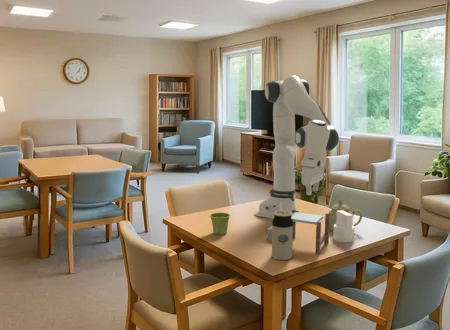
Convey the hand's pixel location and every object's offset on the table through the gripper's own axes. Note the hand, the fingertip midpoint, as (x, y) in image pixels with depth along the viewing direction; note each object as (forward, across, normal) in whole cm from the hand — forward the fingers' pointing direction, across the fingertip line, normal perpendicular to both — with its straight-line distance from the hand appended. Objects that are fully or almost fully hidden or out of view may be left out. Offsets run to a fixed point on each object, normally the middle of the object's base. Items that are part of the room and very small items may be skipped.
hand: (312, 192), depth 187 cm
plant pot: (+26, +2, -41) cm, 48 cm away
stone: (+24, -2, -16) cm, 29 cm away
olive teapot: (+23, -31, +8) cm, 40 cm away
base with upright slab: (+23, -16, +12) cm, 30 cm away
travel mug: (+24, +18, -5) cm, 30 cm away
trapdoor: (+13, 0, -3) cm, 13 cm away
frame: (+23, 0, -1) cm, 23 cm away
